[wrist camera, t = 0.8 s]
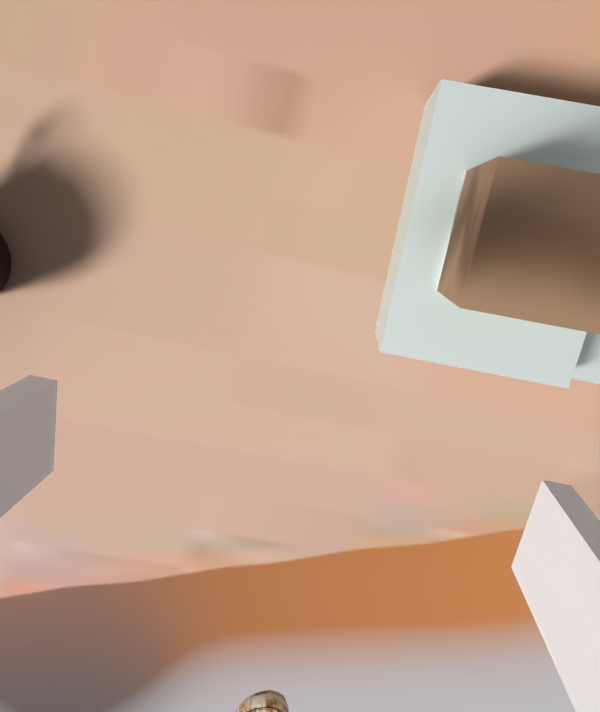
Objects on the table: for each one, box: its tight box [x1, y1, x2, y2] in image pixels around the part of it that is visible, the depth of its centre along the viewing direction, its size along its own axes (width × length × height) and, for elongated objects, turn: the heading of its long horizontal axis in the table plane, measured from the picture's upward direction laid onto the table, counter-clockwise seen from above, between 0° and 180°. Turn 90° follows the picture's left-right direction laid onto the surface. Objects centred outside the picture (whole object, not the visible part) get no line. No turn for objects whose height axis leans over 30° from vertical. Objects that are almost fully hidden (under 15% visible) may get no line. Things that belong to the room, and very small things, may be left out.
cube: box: [436, 156, 600, 334], centre depth 28 cm, size 7×7×7 cm
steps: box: [375, 79, 600, 388], centre depth 34 cm, size 16×23×6 cm
